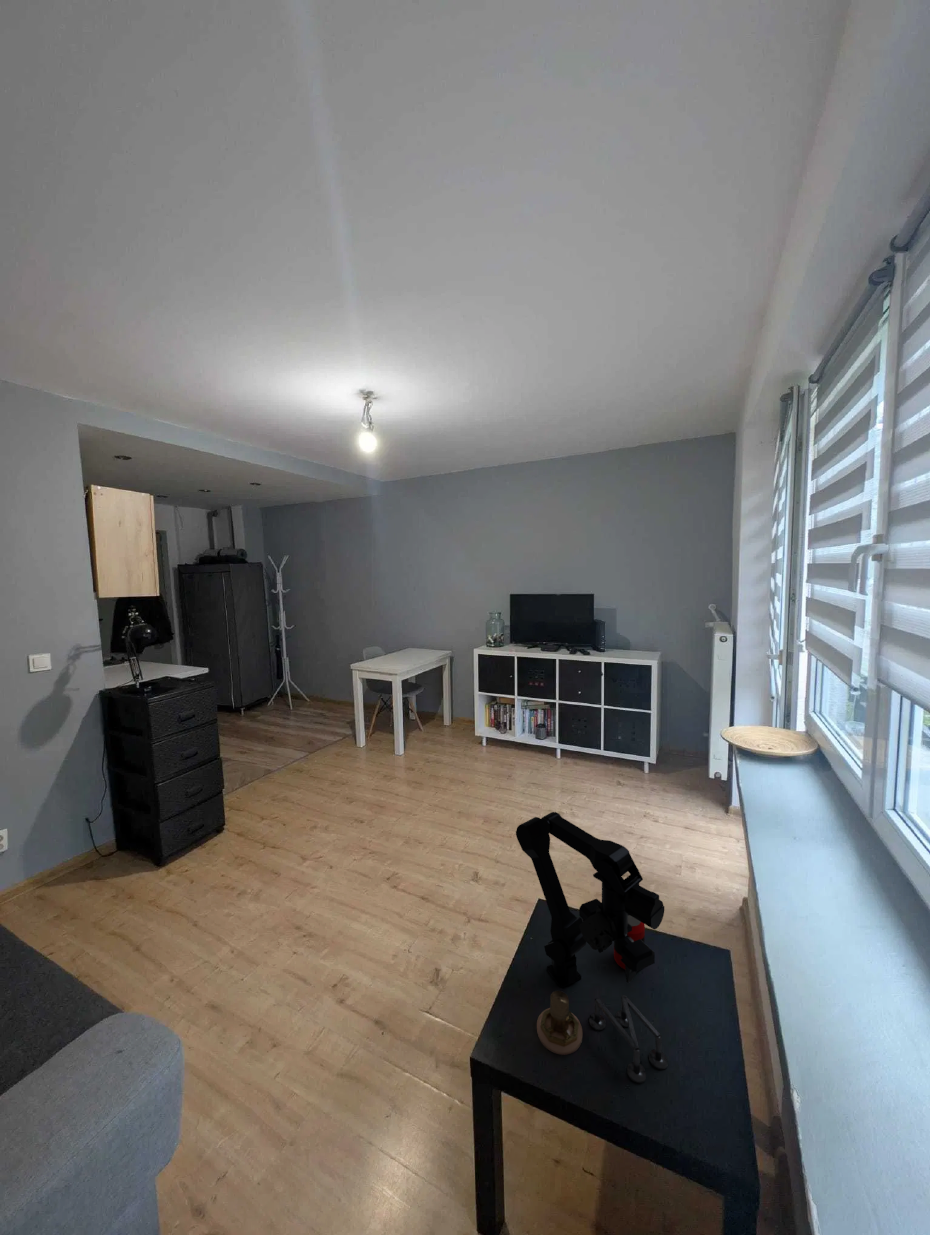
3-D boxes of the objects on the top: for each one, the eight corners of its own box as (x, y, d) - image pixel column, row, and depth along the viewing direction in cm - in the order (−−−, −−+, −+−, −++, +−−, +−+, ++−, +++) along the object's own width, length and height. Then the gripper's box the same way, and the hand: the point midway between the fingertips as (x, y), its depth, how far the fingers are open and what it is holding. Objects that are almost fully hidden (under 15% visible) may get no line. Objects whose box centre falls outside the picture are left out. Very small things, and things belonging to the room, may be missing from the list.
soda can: (646, 955, 124) (646, 913, 123) (641, 977, 118) (642, 932, 117) (616, 945, 128) (617, 904, 127) (611, 965, 121) (611, 922, 120)
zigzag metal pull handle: (585, 1019, 107) (585, 995, 106) (618, 1002, 111) (618, 980, 110) (636, 1086, 93) (636, 1059, 92) (671, 1064, 97) (671, 1038, 96)
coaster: (528, 1021, 107) (528, 1017, 106) (564, 1004, 111) (564, 1000, 111) (553, 1062, 97) (553, 1058, 97) (591, 1042, 102) (591, 1038, 101)
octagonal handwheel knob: (534, 1019, 106) (534, 991, 105) (563, 1005, 109) (563, 977, 109) (555, 1051, 99) (555, 1021, 98) (585, 1035, 102) (585, 1006, 101)
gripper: (560, 888, 111) (561, 949, 112) (616, 944, 94) (615, 1015, 95) (598, 875, 115) (597, 933, 117) (657, 926, 98) (656, 994, 100)
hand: (614, 966), depth 107 cm, fingers open, 9 cm apart
